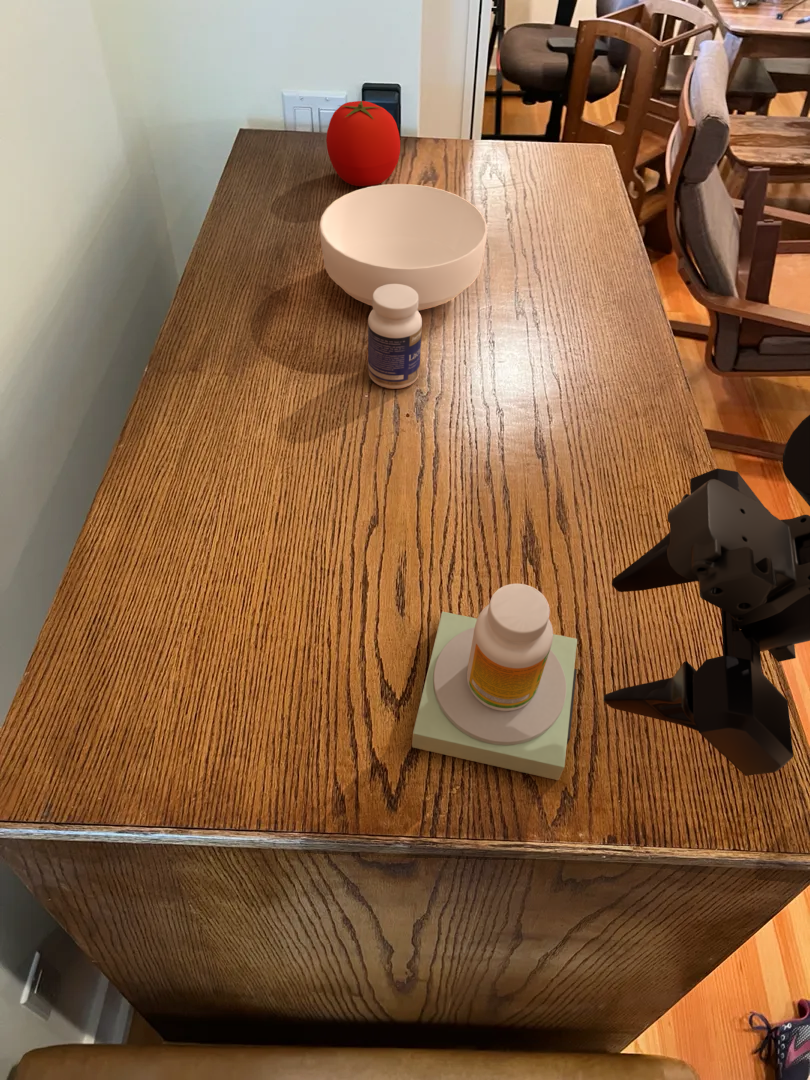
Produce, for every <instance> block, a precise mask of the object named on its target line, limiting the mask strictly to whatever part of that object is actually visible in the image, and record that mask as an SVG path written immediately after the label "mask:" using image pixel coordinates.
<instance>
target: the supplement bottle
mask: <svg viewBox="0 0 810 1080" xmlns="http://www.w3.org/2000/svg"><path fill="white" fill-rule="evenodd" d="M550 614H551V608H550V604H549V602H548V600H547V598H546V596H545V595H544V594H543V593H542V592H541V591H540V590H538V589H536V588H535V587H534V586H532V585H528V584H525V583H509V584H505V585H503V586H501V587H499V588H498V589H497V590H496V591H495V592H494V593H493V594H492V596H491V598H490V599H489V603H488V604H487V605H485V607H484V608H482V610H481V611H480V612H479V614H478V616H477V621H476V624H475V629H474V635H473V640H472V646H471V652H470V657H469V663H468V669H467V681H468V685H469V688H470V690H471V692H472V693H473V695H474V696H475V697H476V698H477V699H478V700H479V701H480V702H481V703H483V704H484V705H486V706H487V707H490V708H492V709H496V710H501V711H511V710H516V709H519V708H521V707H523V706H525V705H526V704H528V703H529V702H530V701H531V700H532V699H533V697H534V696H535V694H536V692H537V689H538V686H539V683H540V680H541V677H542V673H543V670H544V667H545V664H546V661H547V658H548V655H549V652H550V649H551V645H552V641H553V634H554V628H553V624H552V622H551V620H550Z"/></svg>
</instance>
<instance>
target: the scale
mask: <svg viewBox="0 0 810 1080" xmlns="http://www.w3.org/2000/svg"><path fill="white" fill-rule="evenodd" d="M477 618H478V617H477ZM477 618H476V617H471V616H467V615H462V614H456V613H451V612H447V611H441V614H440V618H439V621H438V626H437V631H436V634H435V639H434V643H433V647H432V651H431V656H430V659H429V664H428V668H427V673H426V676H425V681H424V684H423V690H422V693H421V698H420V702H419V704H418V705H419V706H418V710H417V714H416V719H415V722H414V727H413V731H412V739H411V747H412V748H413V749H418V750H423V751H426V752H431V753H435V754H440V755H445V756H448V757H453V758H458V759H462V760H467V761H471V762H475V763H478V764H479V763H480V764H483V765H484V764H485V765H489V766H493V767H498V768H502V769H507V770H510V771H515V772H519V773H525V774H529V775H533V776H538V777H541V778H547V779H550V780H556V781H559V780H560V778H561V776H562V774H563V772H564V769H565V767H566V758H567V757H566V756H567V747H568V744H569V742H570V739H571V734H572V733H571V732H572V722H573V721H572V720H573V711H574V701H575V691H576V682H577V681H576V680H577V671H578V669H576V667H575V666H576V657H577V646H578V638H575V637H570V636H565V635H560V634H555V633H553V641H552V645H551V649H550V652H549V655H548V658H547V661H546V664H545V667H544V670H543V673H542V677H541V680H540V683H539V686H538V689H537V692H536V694H535V696H534V697H533V699H532V700H531V701H530V702H529V703H528V704H526V705H525V706H523V707H521V708H519V709H516V710H511V711H501V710H496V709H492V708H490V707H487V706H486V705H484V704H483V703H481V702H480V701H479V700H478V699H477V698H476V697H475V696H474V695H473V693H472V692H471V690H470V688H469V685H468V681H467V669H468V663H469V657H470V652H471V646H472V640H473V635H474V629H475V624H476V621H477Z"/></svg>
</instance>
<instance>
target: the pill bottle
mask: <svg viewBox="0 0 810 1080" xmlns="http://www.w3.org/2000/svg"><path fill="white" fill-rule="evenodd" d="M371 307H372V310H371V311H370V313H369V315H368V318H367V371H368V376H369V379H370V380H371V381H372V382H374V383H375V384H376V385H378V386H379V387H382V388H385V389H392V390H394V389H395V390H396V389H403V388H406V387H407V388H408V387H409V386H411V385H413V384H414V383H415V382H416V381H417V380H418V379H419V376H420V372H421V371H420V369H421V351H422V350H421V349H422V335H423V334H422V331H423V318H422V315H421V313H420V312H419V311H418V310H417V309H418V294H417V292H416V291H415V290H414V289H413V288H411V287H409V286H406V285H402V284H388V285H383V286H381V287H379V288H377V289H376V290H375V291H374V293H373V301H372V306H371Z"/></svg>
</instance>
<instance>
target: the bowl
mask: <svg viewBox="0 0 810 1080" xmlns="http://www.w3.org/2000/svg"><path fill="white" fill-rule="evenodd" d="M319 235H320V246H321V252H322V259H323V266H324V269H325V271H326V273H327V274H328V276H329V278H330V279H331V280H332V281H333V282H334V283H335V284H336V285H338V287H340V288H341V289H342V290H343V291H344V292H345V293H346V294H347V295H349V296H350V297H352V298H353V299H354V300H357V301H359V302H361V303H363V304H365V305H368V306H371V307H373V306H372V301H373V293H374V291H375V290H376V289H377V288H379V287H381V286H383V285H388V284H402V285H406V286H409V287H411V288H413V289H414V290H415V291H416V292H417V294H418V309H417V310H418V312H419V311H423V310H428V309H432V308H435V307H437V306H441V305H443V304H446V303H449V302H450V301H452V300H454V299H455V298H456V297H458V296H459V295H460V294H461V293H463V291H465V290H466V289H468V288H469V287H470V286H471V285H472V284H474V282H476V280H477V278H478V277H479V276H480V273H481V270H482V267H483V262H484V256H485V252H486V246H487V238H488V224H487V222H486V219H485V217H484V214H483V213H482V212H481V211H480V210H479V208H477V206H475V204H473V203H471V202H470V201H468V200H467V199H465V198H463V197H462V196H460V195H458V194H456V193H454V192H450V191H447V190H445V189H441V188H436V187H432V186H428V185H422V184H410V183H389V184H387V183H386V184H377V185H371V186H366V187H363V188H360V189H356V190H353V191H351V192H349V193H346V194H344V195H342V196H340V197H339V198H337V199H335V200H333V202H331V204H329V205H328V206H327V207H326V208H325V210H324V211H323V213H322V215H321V217H320V222H319Z"/></svg>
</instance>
